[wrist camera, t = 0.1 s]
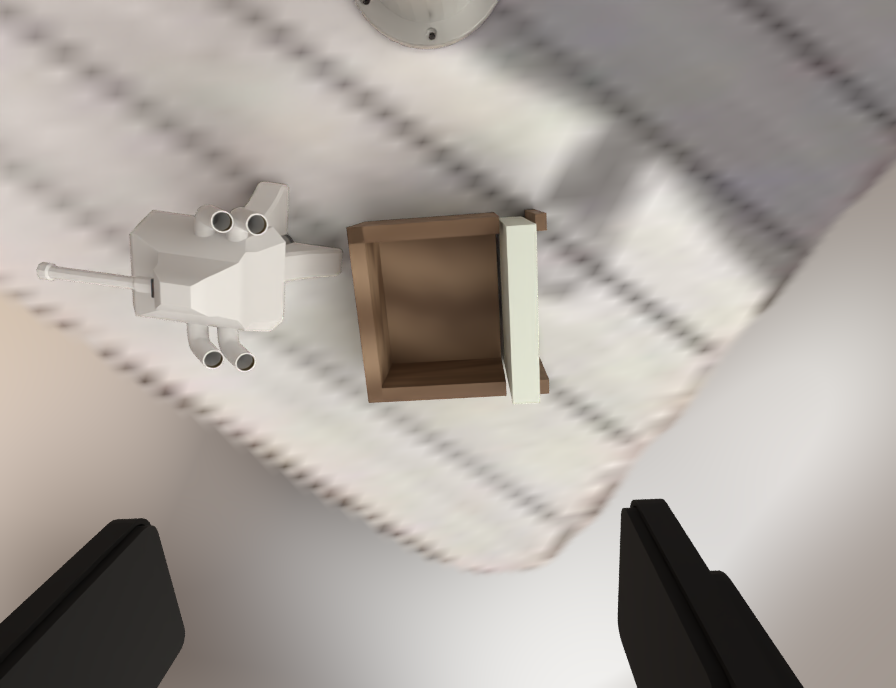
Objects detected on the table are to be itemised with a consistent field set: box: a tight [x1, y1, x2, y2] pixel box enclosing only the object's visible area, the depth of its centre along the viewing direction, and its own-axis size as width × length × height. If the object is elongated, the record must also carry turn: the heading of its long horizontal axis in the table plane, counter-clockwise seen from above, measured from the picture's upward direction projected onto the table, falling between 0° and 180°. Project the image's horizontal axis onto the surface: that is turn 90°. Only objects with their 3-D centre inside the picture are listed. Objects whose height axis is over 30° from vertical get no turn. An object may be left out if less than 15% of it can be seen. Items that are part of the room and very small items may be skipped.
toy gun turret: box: [36, 181, 343, 372], centre depth 36 cm, size 12×13×18 cm
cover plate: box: [499, 216, 540, 404], centre depth 41 cm, size 13×2×10 cm, turn 4°
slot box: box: [346, 209, 549, 403], centre depth 42 cm, size 14×15×7 cm
